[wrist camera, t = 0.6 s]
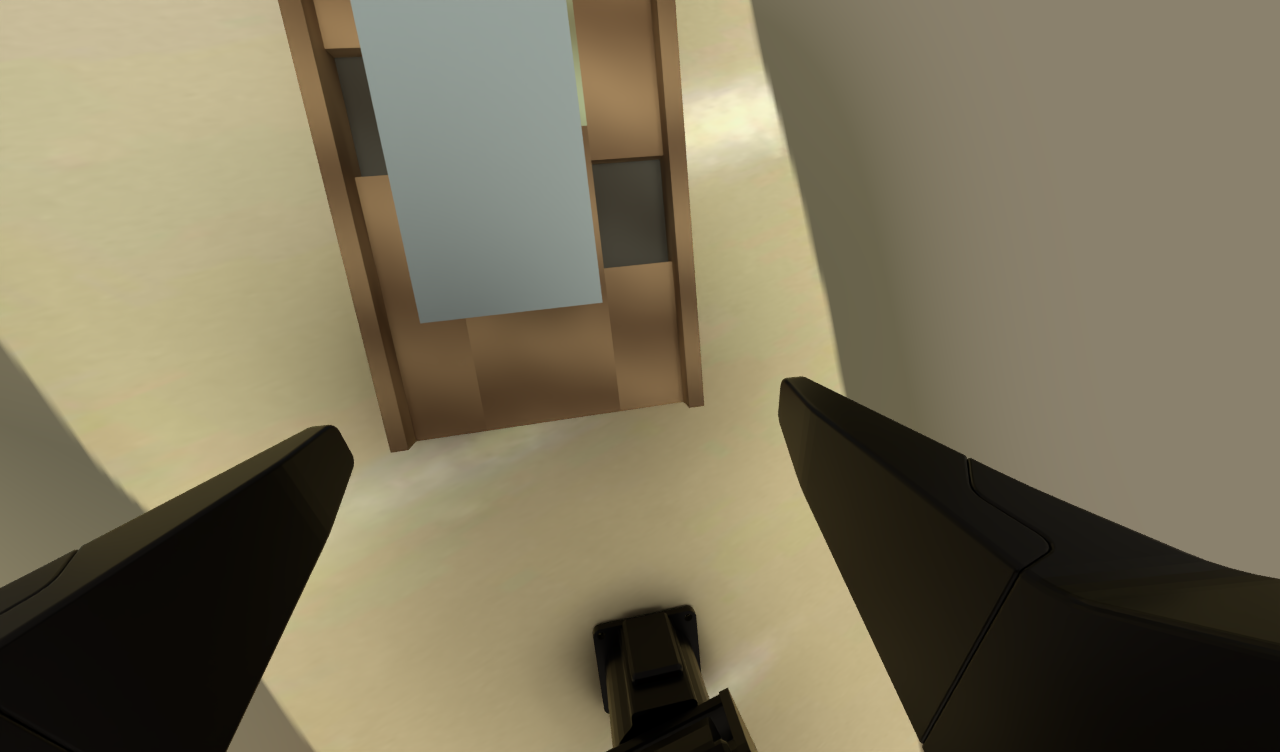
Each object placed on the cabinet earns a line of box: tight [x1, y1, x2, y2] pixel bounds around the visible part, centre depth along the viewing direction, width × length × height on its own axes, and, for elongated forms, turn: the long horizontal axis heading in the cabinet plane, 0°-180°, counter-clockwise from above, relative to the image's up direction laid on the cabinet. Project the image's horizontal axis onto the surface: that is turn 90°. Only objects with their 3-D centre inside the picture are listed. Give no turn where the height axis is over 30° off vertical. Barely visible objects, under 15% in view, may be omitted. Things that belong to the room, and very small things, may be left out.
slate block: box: [350, 0, 603, 323], centre depth 16 cm, size 8×5×10 cm, turn 6°
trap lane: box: [278, 0, 704, 452], centre depth 20 cm, size 24×16×4 cm, turn 6°
